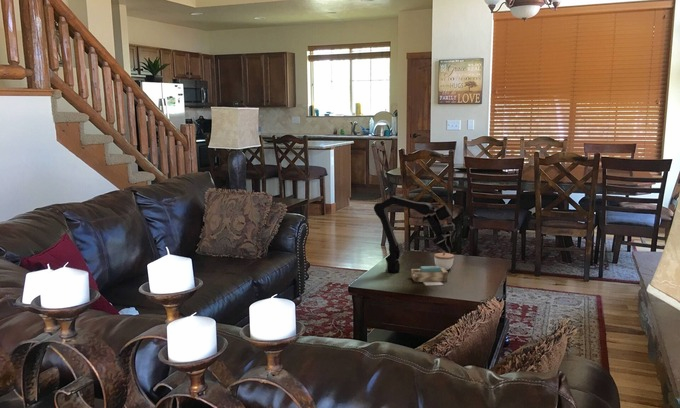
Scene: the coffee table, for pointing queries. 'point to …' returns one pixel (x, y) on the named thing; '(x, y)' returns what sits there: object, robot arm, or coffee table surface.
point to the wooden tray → (429, 275)
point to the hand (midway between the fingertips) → (450, 250)
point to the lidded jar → (444, 260)
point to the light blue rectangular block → (430, 269)
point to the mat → (432, 283)
